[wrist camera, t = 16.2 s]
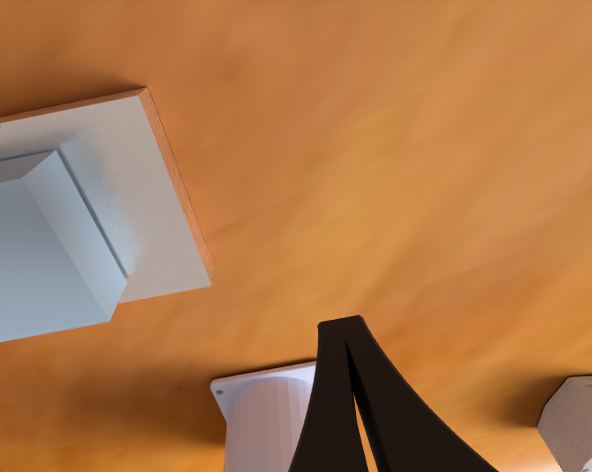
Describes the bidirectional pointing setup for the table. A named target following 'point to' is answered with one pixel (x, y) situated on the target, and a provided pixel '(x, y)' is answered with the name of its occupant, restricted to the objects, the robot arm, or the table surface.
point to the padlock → (570, 425)
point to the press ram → (50, 253)
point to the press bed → (122, 186)
